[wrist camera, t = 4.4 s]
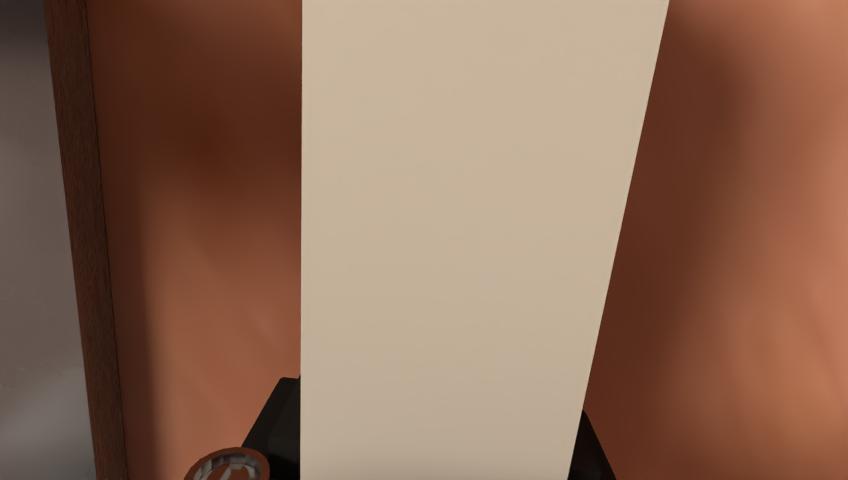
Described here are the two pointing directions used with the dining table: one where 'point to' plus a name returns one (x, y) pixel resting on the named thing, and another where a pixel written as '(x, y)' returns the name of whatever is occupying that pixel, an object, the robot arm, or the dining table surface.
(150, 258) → the dining table surface
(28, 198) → the bracket stand
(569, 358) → the rail
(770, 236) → the dining table surface
